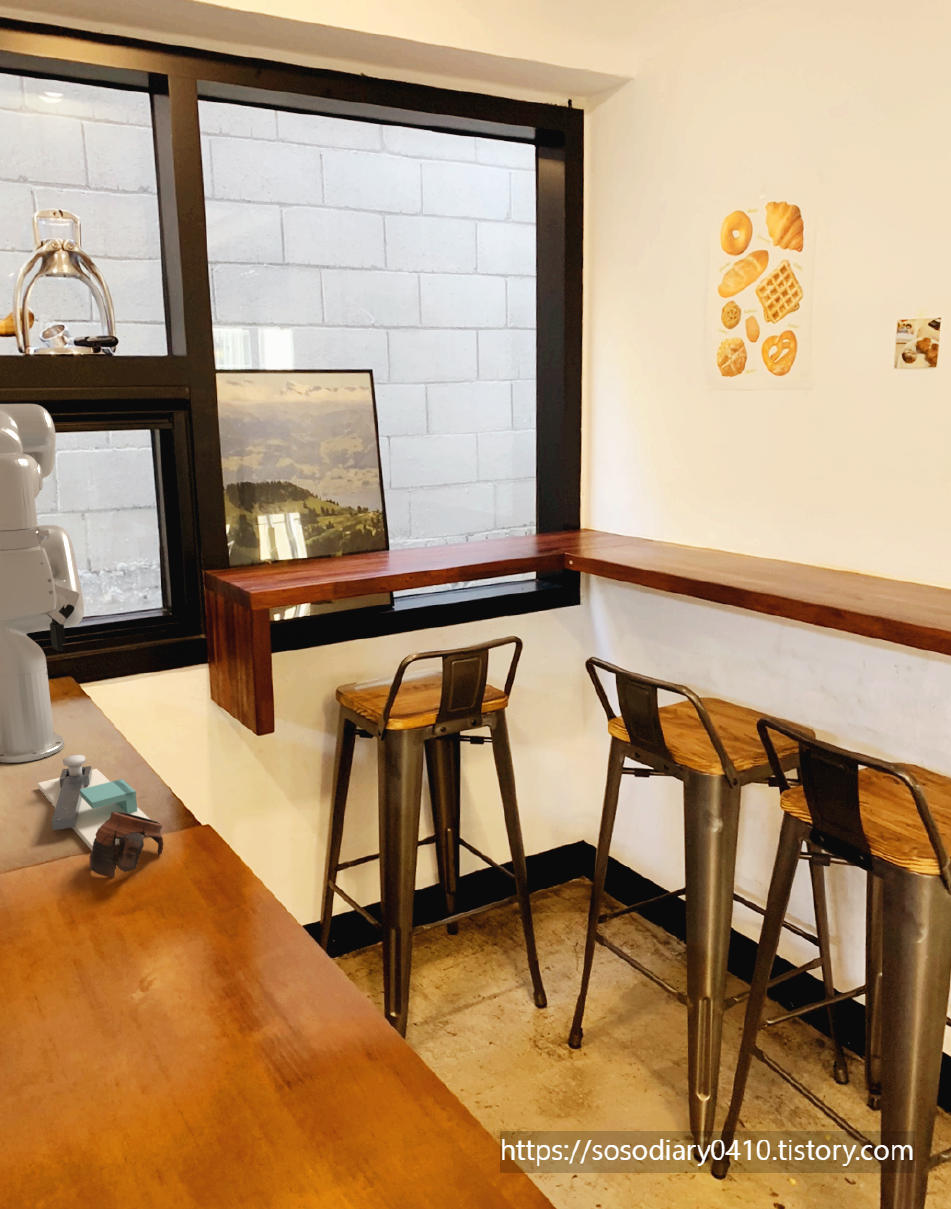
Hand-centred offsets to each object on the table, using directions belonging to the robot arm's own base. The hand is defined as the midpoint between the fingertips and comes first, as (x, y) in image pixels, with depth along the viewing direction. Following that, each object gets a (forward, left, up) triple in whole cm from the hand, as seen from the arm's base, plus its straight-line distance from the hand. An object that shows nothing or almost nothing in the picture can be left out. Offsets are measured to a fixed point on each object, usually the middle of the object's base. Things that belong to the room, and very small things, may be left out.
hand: (24, 654), depth 142 cm
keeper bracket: (+8, +8, -25) cm, 27 cm away
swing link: (+1, +4, -24) cm, 25 cm away
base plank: (+4, +7, -26) cm, 27 cm away
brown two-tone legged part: (+25, +5, -26) cm, 36 cm away
